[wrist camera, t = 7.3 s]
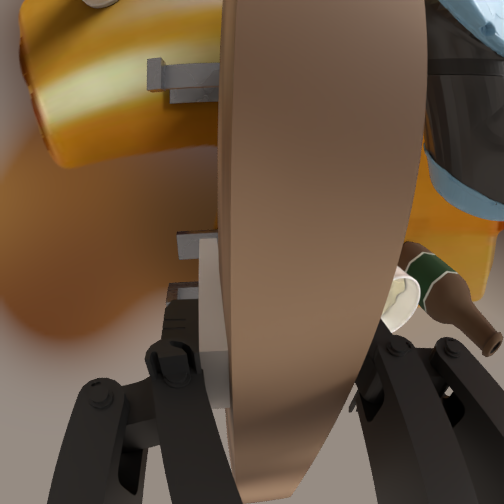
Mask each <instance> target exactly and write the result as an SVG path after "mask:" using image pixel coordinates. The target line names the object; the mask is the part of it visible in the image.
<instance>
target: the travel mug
mask: <svg viewBox="0 0 504 504" xmlns="http://www.w3.org/2000/svg"><path fill="white" fill-rule="evenodd" d="M82 1H84V2H85V3H86V4H87V5H88V6H90V7H93V8H103V7H107V6H110V5H112V4H114V3H115V2H117V1H118V0H82Z"/></svg>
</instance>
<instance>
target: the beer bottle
mask: <svg viewBox="0 0 504 504" xmlns="http://www.w3.org/2000/svg"><path fill="white" fill-rule="evenodd" d="M397 266H398V267H400V268H401V269H402V270H403V271H405V272H406V273H407V274H408V275H410V276H411V277H413V278H414V279H415V280H416V281H417V282H418V284H419V286H420V300H419V303H418V304H419V305H420V306H421V308H422V309H423V310H424V311H425V312H426V313H427V314H428V315H429V316H430V317H432V318H433V319H434V320H436V321H438V322H440V323H444V324H453V325H454V326H456V327H457V328H459V329H460V330H461V331H462V332H463V333H464V334H465V335H466V336H467V337H469V339H471V341H473V342H474V343H475V344H476V345H477V346H478V347H479V348H480V349H481V350H482V355H484V356H485V357H489V356H491V355H493V354H494V353H495V352H496V351H497V350H498V348H499V347H500V345H501V343H502V340H503V336H502V334H501V332H497V331H495V329H494V328H493V326H492V325H491V324H490V323H489V322H488V321H487V320H486V318H485V317H484V316H483V315H482V314H481V313H480V311H479V310H478V309H477V308H476V306H475V305H474V304H473V302H472V300H471V295H470V290H469V287H468V285H467V283H466V281H465V280H464V279H463V278H462V277H461V276H460V275H459V274H458V273H457V272H456V271H454V270H453V269H452V268H451V267H449V266H448V265H447V264H446V263H445V262H443V261H442V260H441V259H440V258H438V257H437V256H436V255H434V254H433V253H432V252H431V251H429V250H428V249H427V248H425V247H424V246H422V245H421V244H419V243H414V242H409V241H407V242H406V243H404V244H403V246H402V250H401V254H400V257H399V261H398V265H397Z"/></svg>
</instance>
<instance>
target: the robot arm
mask: <svg viewBox="0 0 504 504" xmlns="http://www.w3.org/2000/svg"><path fill="white" fill-rule="evenodd" d="M424 3H425V14H426V29H427V93H426V109H425V121H424V131H423V133H424V140H425V143H424V151H425V154H426V156H427V160H428V166H429V173H430V178H431V182H432V184H433V186H434V188H435V189H436V191H437V192H438V193H439V194H440V195H441V196H443V197H444V199H445V200H446V201H447V202H449V203H450V204H451V205H453V206H454V207H456V208H458V209H460V210H462V211H464V212H466V213H468V214H471V215H473V216H476V217H480V218H483V219H488V220H494V221H504V0H424ZM145 362H146V365H147V368H148V371H149V374H150V376H149V377H148V378H146V379H144V380H142V381H140V382H137V383H133V384H129V385H125V386H121V385H120V384H119V383H117V382H116V381H115V380H112V379H109V378H97V379H94V380H91V381H89V382H88V383H87V384H85V385H84V386H83V387H82V389H81V391H80V392H79V394H78V397H77V400H76V403H75V405H74V408H73V411H72V414H71V417H70V420H69V423H68V426H67V429H66V433H65V436H64V439H63V442H62V446H61V450H60V453H59V456H58V460H57V464H56V467H55V471H54V475H53V479H52V483H51V488H50V492H49V497H48V501H47V504H142V497H143V488H144V479H145V470H146V462H147V454H148V448H149V447H153V446H157V445H160V447H161V453H162V458H163V464H164V468H165V474H166V478H167V483H168V487H169V492H170V496H171V500H172V504H243V502H242V500H241V497H240V494H239V491H238V489H237V486H236V483H235V480H234V478H233V475H232V472H231V469H230V466H229V463H228V460H227V457H226V454H225V451H224V448H223V445H222V442H221V439H220V436H219V432H218V429H217V426H216V422H215V419H214V416H213V413H212V409H219V408H230V392H229V364H228V346H227V338H226V329H225V321H224V312H223V303H222V294H221V285H220V275H219V258H218V243H217V238H209V239H200V240H199V299H176V300H172V301H171V302H170V303H169V304H168V306H167V307H166V308H165V314H164V321H163V330H162V336H161V340H159V341H157V342H156V343H154V344H153V345H151V346H150V348H149V349H148V350H147V352H146V356H145ZM355 383H356V385H357V387H358V390H357V392H356V394H355V396H354V398H353V400H352V402H351V404H350V406H349V412H352V411H353V409H354V407H355V405H356V406H357V409H356V411H357V412H358V414H359V418H360V422H361V426H362V430H363V434H364V439H365V443H366V448H367V452H368V456H369V461H370V466H371V470H372V476H373V480H374V485H375V491H376V496H377V501H378V504H504V391H503V389H502V388H501V387H500V386H499V385H498V383H497V382H496V381H495V380H494V379H493V378H492V376H491V375H490V374H489V373H488V372H487V370H486V369H485V368H484V367H483V366H482V365H481V364H480V363H479V361H478V360H477V359H476V358H475V357H474V356H473V355H472V354H471V353H470V351H469V350H468V349H467V348H466V347H465V346H464V345H463V344H462V343H461V342H459V341H458V340H456V339H453V338H450V337H444V338H440V339H439V340H438V341H437V342H436V344H435V346H434V348H415V347H414V345H413V344H412V343H411V342H410V341H409V340H407V339H406V338H404V337H401V336H399V335H392V333H391V332H390V330H389V329H388V327H387V326H386V325H385V323H384V322H383V321H382V319H381V318H380V321H379V324H378V326H377V329H376V332H375V334H374V337H373V340H372V342H371V345H370V347H369V350H368V352H367V355H366V357H365V360H364V362H363V364H362V367H361V369H360V371H359V374H358V376H357V378H356V380H355ZM449 386H450V388H451V389H452V390H453V393H452V394H451V396H447V395H446V394H445V391H446V390H447V389H448V387H449Z"/></svg>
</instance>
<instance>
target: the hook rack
mask: <svg viewBox="0 0 504 504" xmlns="http://www.w3.org/2000/svg"><path fill="white" fill-rule="evenodd" d="M219 70H220V63H194V64H177V65H166V63H165V62H164V60H163V59H162V58H152V59H147V90H148V91H150V92H162V91H165V90H170V104H175V103H192V102H219ZM209 238H217V243H218V229H217V230H200V231H181V232H177V245H178V255H179V260H182V259H199V240H200V239H209ZM176 299H199V281H198V282H180V283H169V287H168V291H167V298H166V305H167V306H168V304H169V303H170V302H171V301H172V300H176Z"/></svg>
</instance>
